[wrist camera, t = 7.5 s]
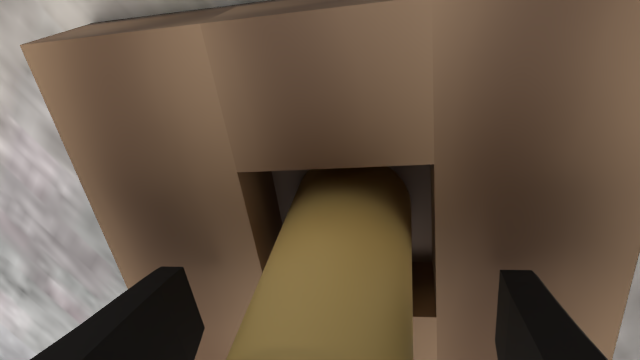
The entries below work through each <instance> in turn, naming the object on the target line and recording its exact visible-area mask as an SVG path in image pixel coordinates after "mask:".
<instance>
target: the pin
mask: <svg viewBox="0 0 640 360" xmlns="http://www.w3.org/2000/svg"><path fill="white" fill-rule="evenodd" d="M226 360H413V300H412V228H411V200H410V196H409V192H408V190H407V188H406V186H405V184H404V183H403V181H402V180H401V178H400V177H399V176H398V175H397V174H396V173H395V172H394V171H393V170H392V169H390V168H389V167H388V166H381V167H357V168H333V169H310V170H309V171H308V172H307V173H306V175H305V176H304V177H303V179H302V181H301V182H300V185H299V187H298V190H297V192H296V194H295V197H294V199H293V201H292V204H291V206H290V209H289V211H288V213H287V216H286V218H285V220H284V223H283V225H282V228H281V230H280V232H279V235H278V237H277V240H276V242H275V244H274V247H273V249H272V251H271V254H270V256H269V259H268V261H267V263H266V266H265V268H264V270H263V273H262V275H261V278H260V280H259V282H258V285H257V287H256V289H255V292H254V294H253V297H252V299H251V301H250V304H249V306H248V309H247V311H246V313H245V316H244V318H243V320H242V323H241V325H240V328H239V330H238V332H237V335H236V337H235V339H234V342H233V344H232V347H231V349H230V351H229V354H228V356H227V359H226Z"/></svg>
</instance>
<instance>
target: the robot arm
mask: <svg viewBox="0 0 640 360" xmlns="http://www.w3.org/2000/svg"><path fill="white" fill-rule="evenodd" d="M204 329H205V327H204V324H203V321H202V318H201V316H200V313H199V310H198V307H197V304H196V301H195V298H194V296H193V293H192V290H191V287H190V284H189V281H188V279H187V276H186V273H185V270H184V267H165V266H161V267H159V268H158V269H156V270H155V271H153V272H152V273H150V274H149V275H147V276H146V277H144V278H143V279H142V280H140V281H139V282H137V283H136V284H135V285H133V286H132V287H131V288H129V289H128V290H127V291H125V292H124V293H122V294H121V295H120V296H118V297H117V298H116V299H114V300H113V301H112V302H110V303H109V304H108V305H106V306H105V307H104V308H102V309H101V310H100V311H98V312H97V313H95V314H94V315H93V316H91V317H90V318H89V319H87V320H86V321H85V322H83V323H82V324H81V325H79V326H78V327H76V328H75V329H74V330H72V331H71V332H69V333H68V334H66V335H65V336H64V337H62V338H61V339H59V340H58V341H56V342H55V343H53V344H52V345H51V346H49V347H48V348H46V349H45V350H43V351H42V352H40V353H39V354H38V355H36V356H35V357H33V358H32V359H30V360H194V359H195V356H196V354H197V351H198V348H199V345H200V342H201V338H202V335H203V332H204ZM495 345H496V351H497V358H498V360H608V359H607V358H606V357H605V356H604V354H603V353H602V352H601V351H600V350H599V349H598V348H597V347H596V346H595V344H594V343H593V342H592V341H591V340H590V339H589V338H588V337H587V336H586V334H585V333H584V332H583V331H582V330H581V329H580V328H579V326H578V325H577V324H576V323H575V322H574V321H573V319H572V318H571V317H570V316H569V315H568V313H567V312H566V311H565V310H564V309H563V307H562V306H561V305H560V304H559V302H558V301H557V300H556V299H555V297H554V296H553V295H552V294H551V292H550V291H549V290H548V289H547V287H546V286H545V285H544V283H543V282H542V281H541V280H540V278H539V277H538V276H537V274H535V273H534V272H533V271H532V270H500V275H499V289H498V303H497V317H496V331H495Z"/></svg>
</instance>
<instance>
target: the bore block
mask: <svg viewBox="0 0 640 360" xmlns="http://www.w3.org/2000/svg"><path fill="white" fill-rule="evenodd" d="M20 47H21V49H22V51H23V53H24V56H25V58H26V60H27V62H28V65H29V67H30V69H31V71H32V74H33V76H34V78H35V80H36V83H37V85H38V87H39V89H40V92H41V94H42V96H43V98H44V101H45V103H46V105H47V108H48V110H49V112H50V114H51V117H52V119H53V121H54V123H55V126H56V128H57V130H58V132H59V135H60V137H61V139H62V141H63V144H64V146H65V148H66V150H67V153H68V155H69V157H70V159H71V162H72V164H73V166H74V168H75V171H76V173H77V175H78V177H79V180H80V182H81V184H82V186H83V189H84V191H85V193H86V196H87V198H88V200H89V202H90V205H91V207H92V209H93V211H94V214H95V216H96V218H97V220H98V223H99V225H100V227H101V229H102V232H103V234H104V236H105V238H106V241H107V243H108V245H109V247H110V250H111V252H112V254H113V256H114V259H115V261H116V263H117V265H118V268H119V270H120V272H121V274H122V277H123V279H124V281H125V284H126V286H127V288H128V289H129V288H131V287H132V286H133V285H135V284H136V283H137V282H139V281H140V280H142V279H143V278H144V277H146V276H147V275H149V274H150V273H152V272H153V271H155V270H156V269H158V268H159V267H161V266H165V267H184V270H185V273H186V276H187V279H188V281H189V284H190V287H191V290H192V293H193V296H194V298H195V301H196V304H197V307H198V310H199V313H200V316H201V318H202V321H203V324H204V327H205V329H204V332H203V335H202V338H201V342H200V345H199V348H198V351H197V354H196V356H195V359H194V360H226V359H227V356H228V354H229V351H230V349H231V347H232V344H233V342H234V339H235V337H236V335H237V332H238V330H239V328H240V325H241V323H242V320H243V318H244V316H245V313H246V311H247V309H248V306H249V304H250V301H251V299H252V297H253V294H254V292H255V289H256V287H257V285H258V282H259V280H260V278H261V275H262V273H263V270H264V268H265V266H266V263H267V261H268V259H269V256H270V254H271V251H272V249H273V247H274V244H275V242H276V240H277V237H278V235H279V232H280V230H281V228H282V225H283V223H284V220H285V218H286V216H287V213H288V211H289V209H290V206H291V204H292V201H293V199H294V197H295V194H296V192H297V190H298V187H299V185H300V182H301V181H302V179H303V177H304V176H305V175H306V173H307V172H308V171H309V170H310V169H333V168H357V167H381V166H388V167H389V168H390V169H392V170H393V171H394V172H395V173H396V174H397V175H398V176H399V177H400V178H401V180H402V181H403V183H404V184H405V186H406V188H407V190H408V192H409V196H410V200H411V228H412V300H413V360H498V358H497V351H496V345H495V331H496V317H497V303H498V289H499V275H500V270H532V271H533V272H534V273H535V274H537V276H538V277H539V278H540V280H541V281H542V282H543V283H544V285H545V286H546V287H547V289H548V290H549V291H550V292H551V294H552V295H553V296H554V297H555V299H556V300H557V301H558V302H559V304H560V305H561V306H562V307H563V309H564V310H565V311H566V312H567V313H568V315H569V316H570V317H571V318H572V319H573V321H574V322H575V323H576V324H577V325H578V326H579V328H580V329H581V330H582V331H583V332H584V333H585V334H586V336H587V337H588V338H589V339H590V340H591V341H592V342H593V343H594V344H595V346H596V347H597V348H598V349H599V350H600V351H601V352H602V353H603V354H604V356H605V357H606V358H607V359H608V360H612V358H613V354H614V350H615V346H616V342H617V338H618V334H619V330H620V326H621V322H622V318H623V314H624V311H625V307H626V303H627V299H628V295H629V291H630V287H631V283H632V279H633V275H634V271H635V267H636V264H637V260H638V256H639V252H640V0H271V1H264V2H256V3H248V4H240V5H232V6H224V7H216V8H208V9H201V10H193V11H185V12H177V13H169V14H161V15H153V16H145V17H137V18H130V19H122V20H114V21H106V22H98V23H91V24H88V25H85V26H81V27H78V28H75V29H72V30H68V31H65V32H62V33H58V34H55V35H52V36H48V37H45V38H42V39H38V40H35V41H32V42H29V43H25V44H22V45H20Z"/></svg>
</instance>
